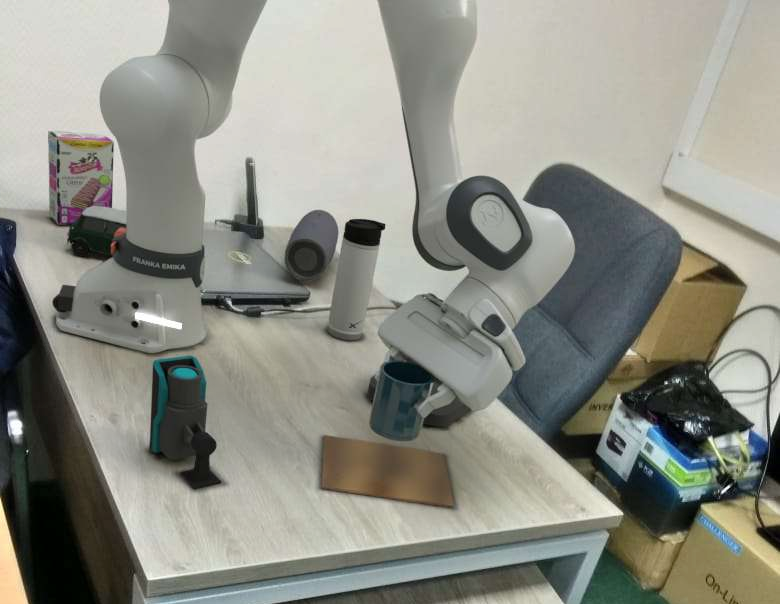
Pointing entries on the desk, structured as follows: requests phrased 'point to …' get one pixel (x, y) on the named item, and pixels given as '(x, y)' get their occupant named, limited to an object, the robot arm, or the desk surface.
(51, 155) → the candy bar box
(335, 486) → the brown flat rectangular board
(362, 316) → the travel mug
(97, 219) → the miniature car
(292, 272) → the bluetooth speaker
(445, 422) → the media streaming box
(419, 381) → the cup
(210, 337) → the desk surface
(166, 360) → the surveillance camera
